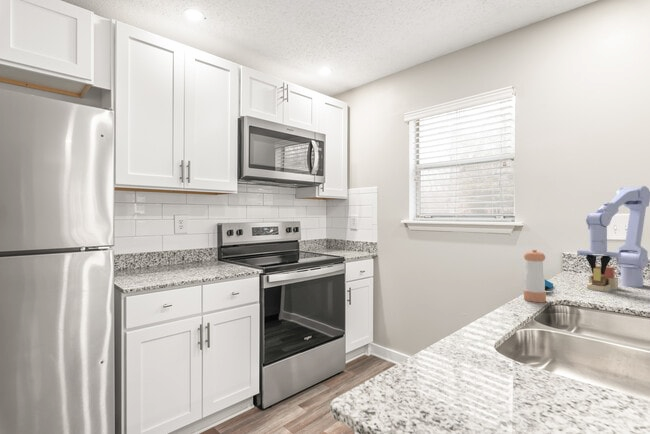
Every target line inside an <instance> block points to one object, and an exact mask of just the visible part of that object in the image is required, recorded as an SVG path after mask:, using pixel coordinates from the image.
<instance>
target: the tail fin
mask: <svg viewBox="0 0 650 434" xmlns="http://www.w3.org/2000/svg"><path fill="white" fill-rule="evenodd" d="M592 275H593V278H594V280H596V281H602V277H603V274H601V268H597V267H596V268H593V273H592Z"/></svg>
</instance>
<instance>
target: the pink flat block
mask: <svg viewBox="0 0 650 434" xmlns="http://www.w3.org/2000/svg"><path fill="white" fill-rule="evenodd" d="M596 267H597V268H601V265H596ZM615 275H616V274H615V267H614V266H607V267H606V270H605V274H603V277H604V276H606V279H608V278H613V279H615Z"/></svg>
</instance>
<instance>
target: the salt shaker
mask: <svg viewBox="0 0 650 434" xmlns="http://www.w3.org/2000/svg"><path fill="white" fill-rule="evenodd" d="M523 258H524V260H526V262H525V264H526V266H525V267H526V270H525V271H526V272H525V277H524V290H523V300H524V299H525V300H524V301H526V300H527V302H531V301H532V302H531V303H545V301H546V302H547V292H546V290H545V289H546V287H545V280H546V279H545V276H544V275H545V274H544V261H545V259H546V255H545V254H544V253H543V252H540V251H538V250H537V249H532V250H531V251H528V252H525V253H524V255H523ZM544 279H545V280H544Z"/></svg>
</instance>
